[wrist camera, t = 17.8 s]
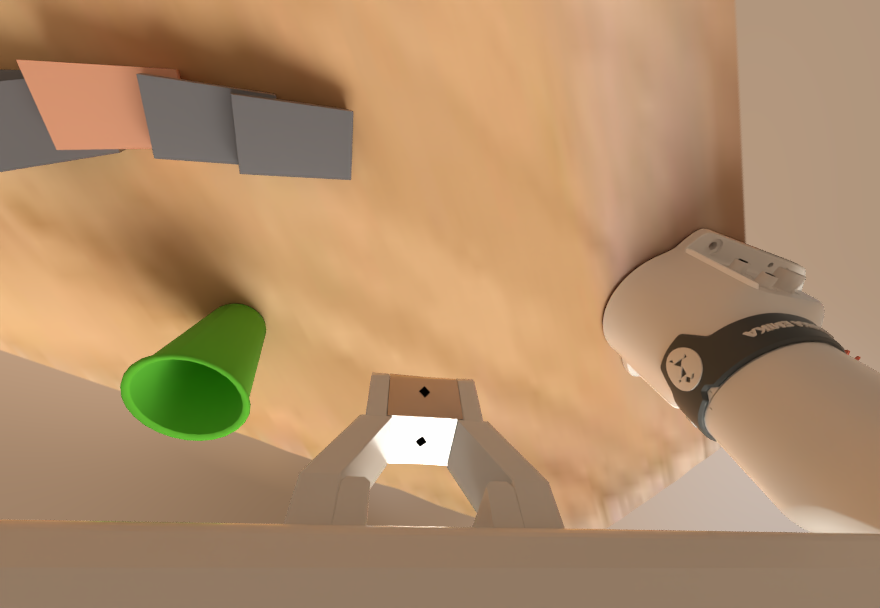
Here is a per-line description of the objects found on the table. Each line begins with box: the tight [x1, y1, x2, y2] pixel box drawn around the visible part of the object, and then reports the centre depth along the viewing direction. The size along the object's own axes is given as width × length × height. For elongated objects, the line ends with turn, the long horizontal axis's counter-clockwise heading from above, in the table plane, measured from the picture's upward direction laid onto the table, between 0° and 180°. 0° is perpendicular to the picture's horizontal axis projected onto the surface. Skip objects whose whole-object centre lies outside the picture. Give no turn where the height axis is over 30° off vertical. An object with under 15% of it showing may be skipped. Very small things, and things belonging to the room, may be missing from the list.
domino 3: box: [136, 73, 276, 164], centre depth 26 cm, size 2×5×8 cm
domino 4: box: [231, 92, 353, 180], centre depth 27 cm, size 2×5×8 cm
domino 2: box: [16, 60, 181, 150], centre depth 25 cm, size 2×5×8 cm
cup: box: [120, 304, 266, 441], centre depth 33 cm, size 9×9×11 cm
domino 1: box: [0, 79, 126, 172], centre depth 25 cm, size 2×5×8 cm
